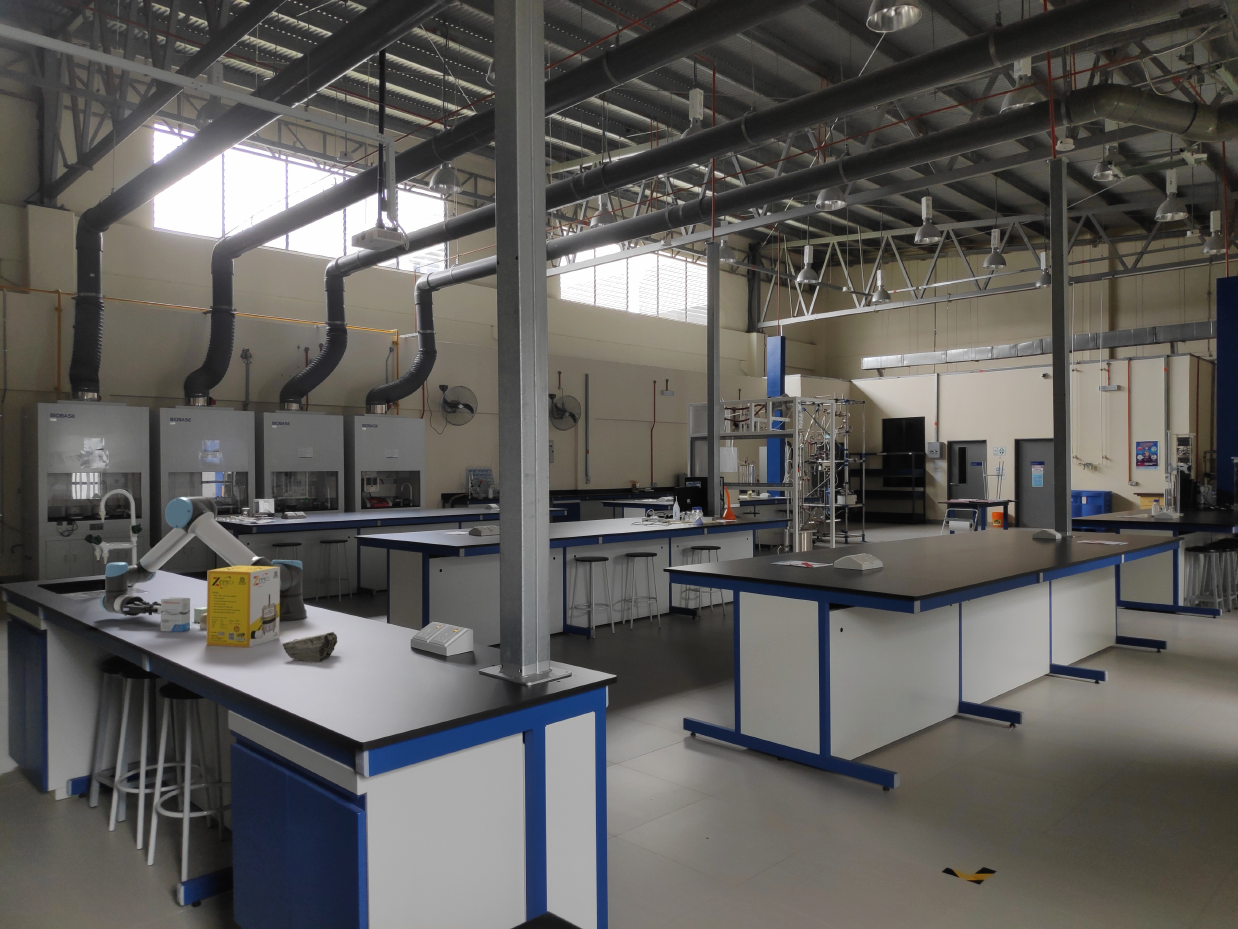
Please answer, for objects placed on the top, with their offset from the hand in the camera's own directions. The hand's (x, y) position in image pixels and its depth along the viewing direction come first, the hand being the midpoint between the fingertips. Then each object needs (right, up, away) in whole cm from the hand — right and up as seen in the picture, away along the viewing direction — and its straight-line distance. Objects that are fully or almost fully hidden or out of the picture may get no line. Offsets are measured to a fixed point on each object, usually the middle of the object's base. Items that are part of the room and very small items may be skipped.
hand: (164, 611), depth 299 cm
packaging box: (+39, -7, -22) cm, 45 cm away
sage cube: (+6, -7, +16) cm, 18 cm away
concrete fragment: (+72, -7, -44) cm, 85 cm away
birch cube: (+15, -7, +3) cm, 17 cm away
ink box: (+6, -7, -4) cm, 9 cm away
